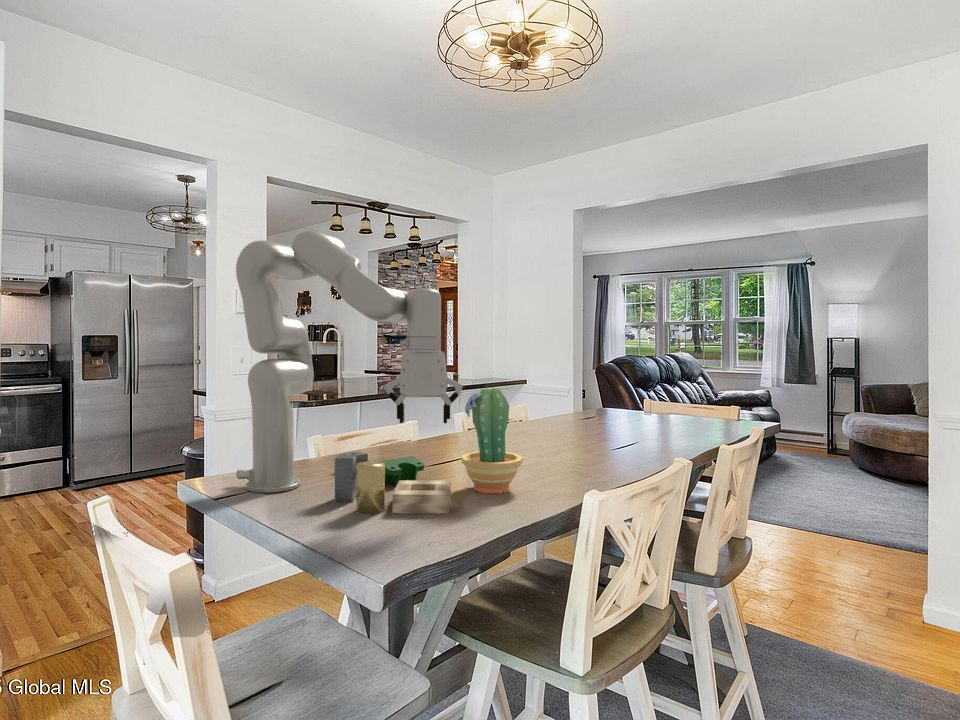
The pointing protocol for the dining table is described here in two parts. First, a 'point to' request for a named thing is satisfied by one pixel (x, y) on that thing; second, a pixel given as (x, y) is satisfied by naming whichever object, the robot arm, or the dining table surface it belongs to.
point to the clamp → (402, 469)
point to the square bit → (345, 478)
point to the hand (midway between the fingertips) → (423, 422)
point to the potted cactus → (490, 443)
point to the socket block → (422, 496)
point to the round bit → (370, 487)
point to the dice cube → (358, 456)
